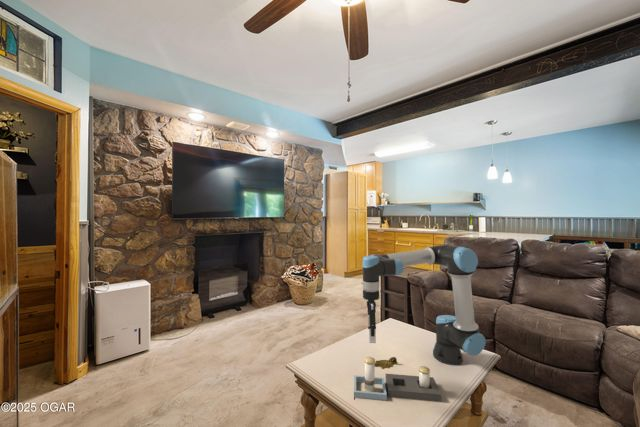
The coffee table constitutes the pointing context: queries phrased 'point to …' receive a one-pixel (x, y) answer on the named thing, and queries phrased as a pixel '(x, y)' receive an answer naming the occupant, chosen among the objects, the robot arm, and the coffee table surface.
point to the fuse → (424, 377)
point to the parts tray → (370, 394)
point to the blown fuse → (369, 374)
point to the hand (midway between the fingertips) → (371, 335)
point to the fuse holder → (411, 388)
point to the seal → (386, 363)
